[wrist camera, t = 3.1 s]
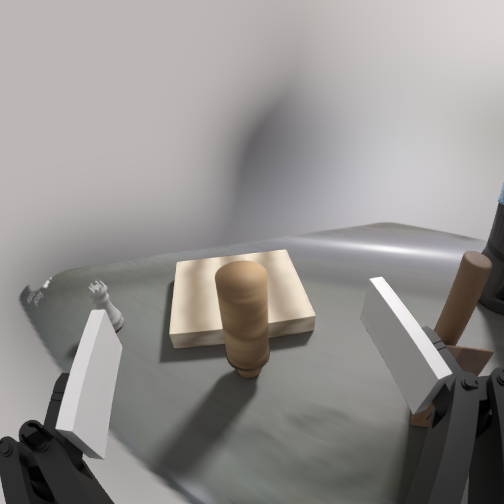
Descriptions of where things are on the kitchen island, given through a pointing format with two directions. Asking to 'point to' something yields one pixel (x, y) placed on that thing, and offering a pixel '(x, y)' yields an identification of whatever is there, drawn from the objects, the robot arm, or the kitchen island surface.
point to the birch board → (207, 307)
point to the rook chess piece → (105, 303)
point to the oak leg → (244, 315)
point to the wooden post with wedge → (461, 319)
